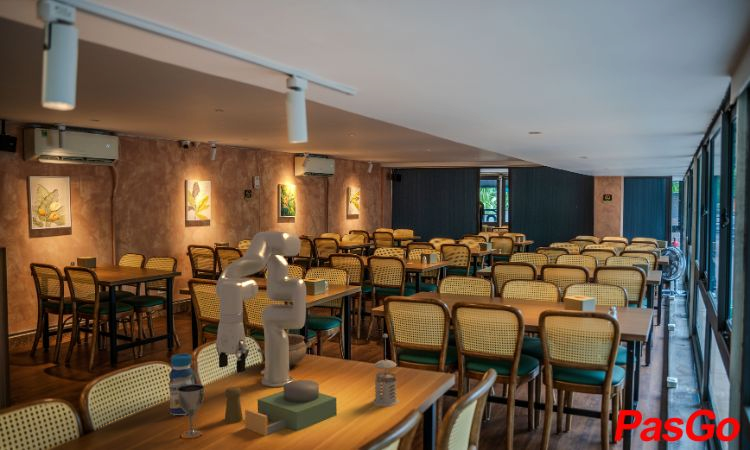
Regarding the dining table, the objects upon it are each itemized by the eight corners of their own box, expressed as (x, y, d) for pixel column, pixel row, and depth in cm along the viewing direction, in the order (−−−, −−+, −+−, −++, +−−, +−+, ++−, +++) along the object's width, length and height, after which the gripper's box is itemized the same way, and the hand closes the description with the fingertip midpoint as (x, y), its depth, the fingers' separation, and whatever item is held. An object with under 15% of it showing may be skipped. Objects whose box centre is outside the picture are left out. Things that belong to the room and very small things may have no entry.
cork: (238, 423, 197) (237, 391, 197) (221, 422, 199) (220, 390, 198) (245, 417, 203) (245, 385, 203) (229, 416, 204) (228, 384, 204)
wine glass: (182, 430, 192) (180, 384, 192) (207, 429, 193) (206, 383, 192) (175, 440, 184) (174, 392, 184) (202, 438, 185) (200, 391, 184)
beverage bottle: (200, 409, 211) (198, 353, 210) (185, 417, 203) (183, 359, 202) (180, 406, 214) (178, 351, 213) (164, 415, 206) (163, 358, 205)
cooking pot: (264, 375, 251) (263, 346, 251) (251, 364, 268) (251, 337, 267) (319, 367, 263) (318, 339, 262) (304, 357, 279) (303, 331, 279)
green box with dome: (236, 424, 197) (235, 394, 196) (297, 402, 217) (296, 375, 217) (275, 439, 184) (274, 407, 183) (336, 414, 204) (336, 386, 204)
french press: (403, 399, 219) (402, 332, 218) (391, 409, 209) (390, 339, 208) (379, 395, 224) (378, 329, 222) (365, 405, 213) (365, 336, 212)
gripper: (206, 317, 202) (207, 367, 202) (237, 323, 191) (238, 376, 191) (225, 314, 208) (226, 362, 208) (256, 319, 196) (257, 371, 197)
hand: (232, 369), depth 200 cm, fingers open, 9 cm apart
